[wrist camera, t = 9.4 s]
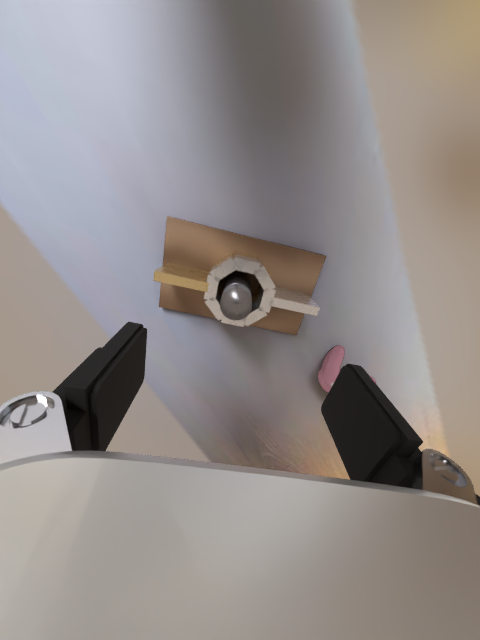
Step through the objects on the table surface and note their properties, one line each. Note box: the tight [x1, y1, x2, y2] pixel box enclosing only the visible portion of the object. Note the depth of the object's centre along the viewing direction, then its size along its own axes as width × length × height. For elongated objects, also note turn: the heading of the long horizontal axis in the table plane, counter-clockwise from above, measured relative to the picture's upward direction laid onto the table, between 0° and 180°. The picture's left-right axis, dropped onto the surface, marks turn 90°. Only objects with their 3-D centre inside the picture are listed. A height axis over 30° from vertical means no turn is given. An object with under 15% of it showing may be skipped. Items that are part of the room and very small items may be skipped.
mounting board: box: [159, 217, 326, 335], centre depth 28 cm, size 11×19×1 cm, turn 77°
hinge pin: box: [220, 271, 252, 320], centre depth 24 cm, size 3×3×8 cm
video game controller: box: [318, 345, 376, 393], centre depth 33 cm, size 10×5×7 cm, turn 46°
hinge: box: [154, 251, 320, 327], centre depth 26 cm, size 7×18×5 cm, turn 77°
